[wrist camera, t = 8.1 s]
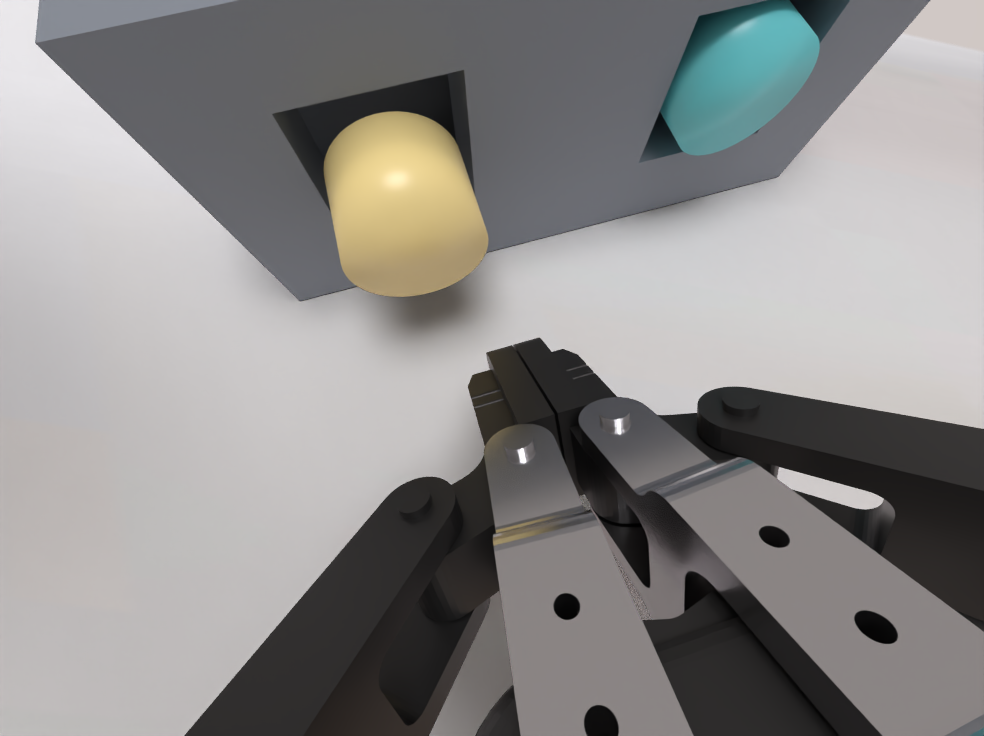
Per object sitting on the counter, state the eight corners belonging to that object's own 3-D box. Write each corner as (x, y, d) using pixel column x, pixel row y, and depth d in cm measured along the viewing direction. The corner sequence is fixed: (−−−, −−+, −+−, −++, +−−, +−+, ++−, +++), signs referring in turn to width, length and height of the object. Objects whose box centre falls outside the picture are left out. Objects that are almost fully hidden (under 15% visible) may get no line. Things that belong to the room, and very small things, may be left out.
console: (778, 176, 20) (1083, -177, 10) (299, 301, 18) (34, 42, 8) (707, 66, 22) (889, -313, 12) (279, 168, 21) (56, -165, 10)
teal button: (762, 140, 16) (855, 13, 12) (658, 166, 16) (716, 45, 11) (726, 84, 17) (800, -53, 13) (627, 107, 17) (670, -24, 12)
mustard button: (490, 276, 14) (485, 185, 10) (369, 308, 14) (312, 228, 10) (467, 205, 15) (454, 95, 11) (353, 234, 15) (295, 132, 11)
